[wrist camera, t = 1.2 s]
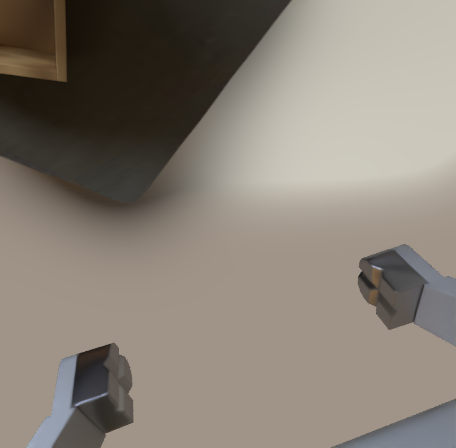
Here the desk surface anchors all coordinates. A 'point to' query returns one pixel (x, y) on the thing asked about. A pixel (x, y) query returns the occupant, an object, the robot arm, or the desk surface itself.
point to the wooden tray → (33, 39)
